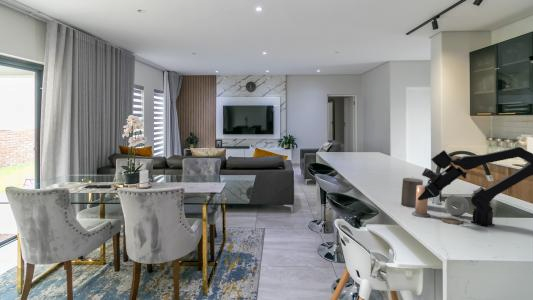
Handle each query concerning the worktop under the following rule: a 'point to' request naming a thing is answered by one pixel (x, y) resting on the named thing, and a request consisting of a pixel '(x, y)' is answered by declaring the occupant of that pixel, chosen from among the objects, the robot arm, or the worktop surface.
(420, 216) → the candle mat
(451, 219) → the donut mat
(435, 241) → the worktop surface
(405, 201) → the pillar candle
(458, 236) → the worktop surface
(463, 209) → the donut
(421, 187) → the post
